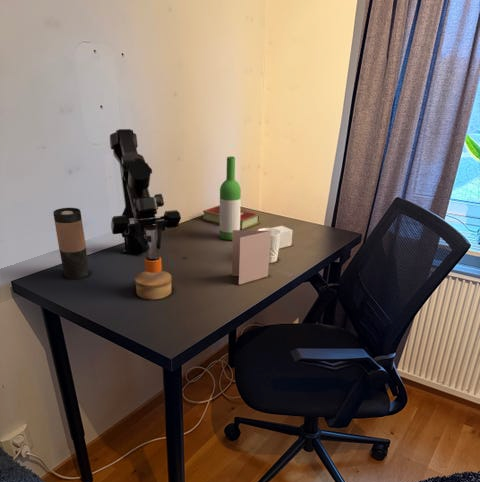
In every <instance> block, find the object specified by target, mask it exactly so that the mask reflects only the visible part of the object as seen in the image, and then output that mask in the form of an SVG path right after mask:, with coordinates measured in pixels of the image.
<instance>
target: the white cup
mask: <svg viewBox="0 0 480 482" xmlns="http://www.w3.org/2000/svg"><path fill="white" fill-rule="evenodd" d="M257 231H271V235H270V251H269V264H272V263H276V262H277V261H278V255H279V251H280V248H279V244H280V236H281V231H279V230H277V229H274V227H262V228H258V230H257Z"/></svg>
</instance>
